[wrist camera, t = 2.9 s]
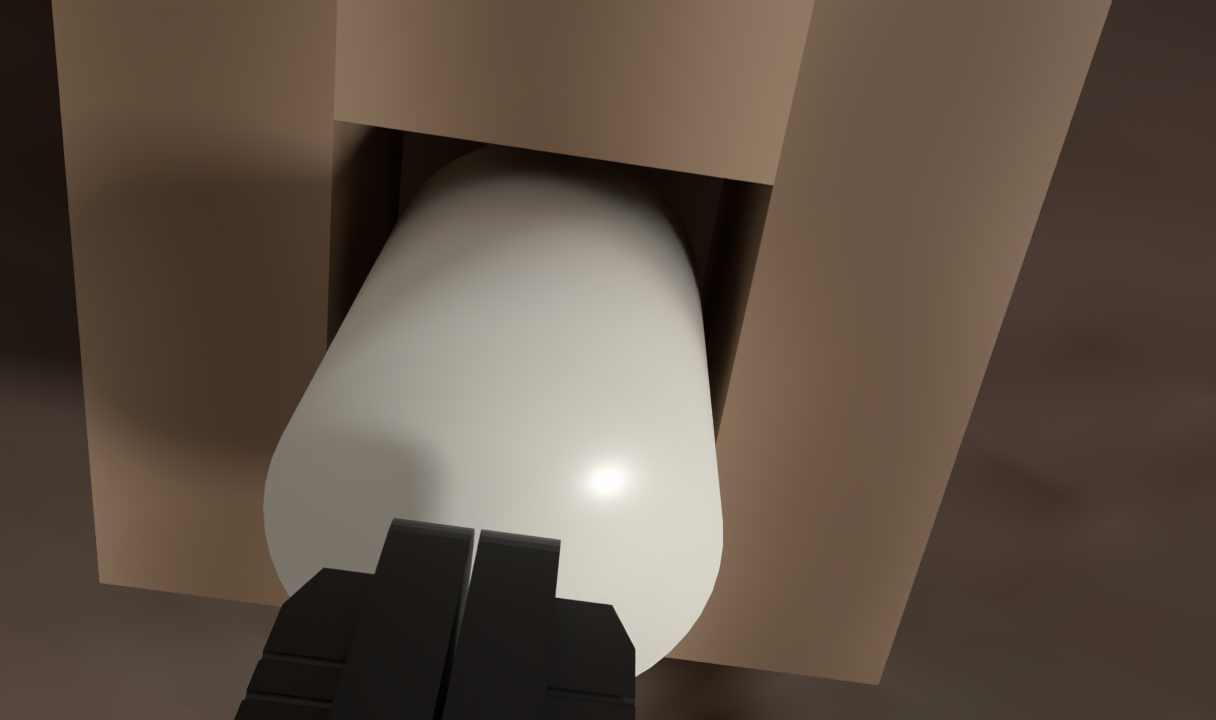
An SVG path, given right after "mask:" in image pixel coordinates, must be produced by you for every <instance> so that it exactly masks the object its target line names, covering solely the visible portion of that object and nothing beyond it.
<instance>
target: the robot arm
mask: <svg viewBox="0 0 1216 720" xmlns="http://www.w3.org/2000/svg"><path fill="white" fill-rule="evenodd" d="M474 537H475V529H474V528H467V527H459V526H452V525H444V524H437V523H429V522H422V521H414V520H407V519H399V518H394V519H393V520H392V522H391V524H390V527H389V530H388V533H387V536H386V539H385V542H384V546H383V549H382V552H381V555H380V558H379V561H378V564H377V567H376V570H375V573H374V574H370V573H362V572H355V571H347V570H339V569H332V568H322V569H321V570H320V571H319V572H318V573H317V574H316V575H315V576H313V577H312V578H311V579H310V580H309V581H308V582H307V583H306V584H304V585H303V586H302V587H301V588H300V589H299V590H298V591H297V592H296V593H294V594H293V595H292V596H291V597H290V598H289V599H288V600H287V601H285V602H284V603H283V605H282V607H281V609H280V612H279V614H278V617H277V619H276V621H275V624H274V626H273V628H272V631H271V633H270V636H269V638H268V640H267V643H266V645H265V647H264V650H263V656H262V660H259V662H258V664H257V666H256V669H255V671H254V674H253V676H252V678H251V681H250V683H249V686H248V688H247V693H246V697H245V700H242V702H241V705H240V707H239V709H238V712H237V714H236V716H235V719H234V720H635V707H634V703H635V663H636V649H635V647H634V645H633V643H632V641H631V639H630V638H629V636H628V634H627V632H626V630H625V628H624V626H623V624H622V622H621V621H620V619H619V617H618V615H617V613H616V611H615V609H614V607H613V605H610V604H602V603H594V602H587V601H579V600H571V599H564V598H556V587H557V577H558V567H559V557H560V546H561V540H559V539H552V538H544V537H537V536H529V535H522V534H514V533H507V532H499V531H492V530H484V529H481V532H480V536H479V541H478V546H477V551H476V556H475V561H474V565H473V570H472V575H471V566H472V557H473V548H474ZM470 575H471V580H470ZM469 583H470V585H469Z"/></svg>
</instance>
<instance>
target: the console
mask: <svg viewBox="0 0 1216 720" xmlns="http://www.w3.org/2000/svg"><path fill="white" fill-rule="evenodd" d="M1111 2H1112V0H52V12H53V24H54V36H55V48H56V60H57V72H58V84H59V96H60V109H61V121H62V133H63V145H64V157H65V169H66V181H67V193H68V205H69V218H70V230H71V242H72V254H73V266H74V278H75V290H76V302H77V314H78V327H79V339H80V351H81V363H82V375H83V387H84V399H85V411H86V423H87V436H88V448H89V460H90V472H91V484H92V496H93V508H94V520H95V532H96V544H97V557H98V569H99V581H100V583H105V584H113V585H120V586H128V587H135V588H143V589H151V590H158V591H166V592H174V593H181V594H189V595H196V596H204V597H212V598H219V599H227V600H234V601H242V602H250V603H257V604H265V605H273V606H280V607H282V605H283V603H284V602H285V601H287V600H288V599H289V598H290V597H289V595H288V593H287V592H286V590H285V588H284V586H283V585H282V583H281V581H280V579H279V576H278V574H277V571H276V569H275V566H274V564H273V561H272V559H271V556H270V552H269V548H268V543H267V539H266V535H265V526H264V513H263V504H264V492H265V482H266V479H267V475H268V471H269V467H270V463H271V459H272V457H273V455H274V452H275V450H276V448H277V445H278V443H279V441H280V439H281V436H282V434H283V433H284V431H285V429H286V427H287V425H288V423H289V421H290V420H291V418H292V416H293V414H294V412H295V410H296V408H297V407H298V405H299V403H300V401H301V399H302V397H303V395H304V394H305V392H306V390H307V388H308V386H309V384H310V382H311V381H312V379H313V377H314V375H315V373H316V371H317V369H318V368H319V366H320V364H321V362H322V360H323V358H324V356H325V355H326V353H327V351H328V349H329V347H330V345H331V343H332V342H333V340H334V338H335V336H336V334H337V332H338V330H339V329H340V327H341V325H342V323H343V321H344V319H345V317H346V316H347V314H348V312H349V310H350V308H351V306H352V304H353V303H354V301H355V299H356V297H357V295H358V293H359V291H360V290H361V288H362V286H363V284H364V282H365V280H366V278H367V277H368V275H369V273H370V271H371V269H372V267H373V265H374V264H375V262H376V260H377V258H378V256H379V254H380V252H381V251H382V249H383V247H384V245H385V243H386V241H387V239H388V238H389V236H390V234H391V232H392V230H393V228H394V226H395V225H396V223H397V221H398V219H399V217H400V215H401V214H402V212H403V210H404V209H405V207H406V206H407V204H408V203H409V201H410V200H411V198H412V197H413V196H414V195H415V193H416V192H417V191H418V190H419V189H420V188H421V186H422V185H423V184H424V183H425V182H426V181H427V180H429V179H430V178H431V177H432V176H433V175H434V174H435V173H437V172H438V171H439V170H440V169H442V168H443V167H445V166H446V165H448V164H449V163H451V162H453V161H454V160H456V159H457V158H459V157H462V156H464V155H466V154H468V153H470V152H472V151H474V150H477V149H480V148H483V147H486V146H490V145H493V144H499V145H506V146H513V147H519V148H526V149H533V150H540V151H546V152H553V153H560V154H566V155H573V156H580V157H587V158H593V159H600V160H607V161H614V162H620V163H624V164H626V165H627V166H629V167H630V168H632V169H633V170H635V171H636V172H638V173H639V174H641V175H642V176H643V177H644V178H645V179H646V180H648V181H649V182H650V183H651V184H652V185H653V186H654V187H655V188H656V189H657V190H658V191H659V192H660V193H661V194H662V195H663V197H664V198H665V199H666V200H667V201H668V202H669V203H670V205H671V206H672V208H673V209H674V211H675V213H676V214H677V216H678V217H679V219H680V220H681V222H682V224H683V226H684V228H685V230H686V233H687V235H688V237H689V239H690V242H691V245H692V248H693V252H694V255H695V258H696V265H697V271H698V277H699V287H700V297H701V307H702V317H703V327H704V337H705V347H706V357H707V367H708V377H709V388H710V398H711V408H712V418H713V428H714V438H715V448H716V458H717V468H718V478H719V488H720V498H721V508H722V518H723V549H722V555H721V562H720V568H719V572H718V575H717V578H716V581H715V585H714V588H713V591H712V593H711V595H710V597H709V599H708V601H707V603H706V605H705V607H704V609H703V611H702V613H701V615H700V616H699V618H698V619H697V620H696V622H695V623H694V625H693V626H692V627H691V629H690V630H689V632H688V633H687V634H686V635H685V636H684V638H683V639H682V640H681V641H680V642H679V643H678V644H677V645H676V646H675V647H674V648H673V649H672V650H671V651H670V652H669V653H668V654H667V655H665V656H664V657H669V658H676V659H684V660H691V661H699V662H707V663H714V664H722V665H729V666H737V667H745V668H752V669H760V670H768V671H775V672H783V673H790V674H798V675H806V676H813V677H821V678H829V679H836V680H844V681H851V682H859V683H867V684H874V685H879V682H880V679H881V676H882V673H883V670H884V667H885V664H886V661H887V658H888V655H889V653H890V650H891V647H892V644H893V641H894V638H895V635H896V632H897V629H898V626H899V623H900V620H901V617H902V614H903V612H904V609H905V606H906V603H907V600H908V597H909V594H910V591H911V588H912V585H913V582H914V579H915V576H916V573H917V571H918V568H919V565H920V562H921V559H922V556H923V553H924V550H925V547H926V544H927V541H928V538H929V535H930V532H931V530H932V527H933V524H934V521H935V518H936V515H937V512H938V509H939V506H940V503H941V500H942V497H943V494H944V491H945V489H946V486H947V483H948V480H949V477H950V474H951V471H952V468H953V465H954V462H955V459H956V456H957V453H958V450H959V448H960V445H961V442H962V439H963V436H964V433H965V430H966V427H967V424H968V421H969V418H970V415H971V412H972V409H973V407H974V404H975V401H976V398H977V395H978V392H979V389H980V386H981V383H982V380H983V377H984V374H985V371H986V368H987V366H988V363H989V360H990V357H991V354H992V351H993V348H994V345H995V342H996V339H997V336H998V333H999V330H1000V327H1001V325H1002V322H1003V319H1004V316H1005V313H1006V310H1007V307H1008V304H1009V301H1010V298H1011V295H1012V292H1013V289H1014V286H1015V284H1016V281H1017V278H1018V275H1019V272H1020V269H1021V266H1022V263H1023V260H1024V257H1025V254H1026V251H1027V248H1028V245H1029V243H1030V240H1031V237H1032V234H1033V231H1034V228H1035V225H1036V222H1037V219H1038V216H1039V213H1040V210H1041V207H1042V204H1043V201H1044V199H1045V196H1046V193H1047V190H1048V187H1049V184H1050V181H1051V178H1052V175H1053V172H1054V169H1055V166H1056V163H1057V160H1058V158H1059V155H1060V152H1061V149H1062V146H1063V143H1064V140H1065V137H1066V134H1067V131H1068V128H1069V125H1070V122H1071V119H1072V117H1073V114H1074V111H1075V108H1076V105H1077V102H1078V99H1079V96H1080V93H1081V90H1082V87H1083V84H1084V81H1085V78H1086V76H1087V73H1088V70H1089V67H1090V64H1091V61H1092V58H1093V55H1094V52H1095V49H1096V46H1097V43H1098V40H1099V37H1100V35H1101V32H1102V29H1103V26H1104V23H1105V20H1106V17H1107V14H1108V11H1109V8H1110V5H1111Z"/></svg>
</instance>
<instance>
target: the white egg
mask: <svg viewBox="0 0 1216 720" xmlns="http://www.w3.org/2000/svg"><path fill="white" fill-rule="evenodd" d="M263 513H264V526H265V535H266V539H267V543H268V548H269V552H270V556H271V559H272V561H273V564H274V566H275V569H276V571H277V574H278V576H279V579H280V581H281V583H282V585H283V586H284V588H285V590H286V592H287V593H288V595H289V597H291V596H292V595H293V594H294V593H296V592H297V591H298V590H299V589H300V588H301V587H302V586H303V585H304V584H306V583H307V582H308V581H309V580H310V579H311V578H312V577H313V576H315V575H316V574H317V573H318V572H319V571H320V570H321V569H322V568H332V569H339V570H347V571H355V572H362V573H370V574H374V573H375V570H376V567H377V564H378V561H379V558H380V555H381V552H382V549H383V546H384V542H385V539H386V536H387V533H388V530H389V527H390V524H391V522H392V520H393V519H394V518H399V519H407V520H414V521H422V522H429V523H437V524H444V525H452V526H459V527H467V528H474V529H475V537H474V548H473V557H472V566H471V575H472V570H473V565H474V561H475V556H476V551H477V546H478V541H479V536H480V532H481V529H484V530H492V531H499V532H507V533H514V534H522V535H529V536H537V537H544V538H552V539H559V540H561V546H560V557H559V567H558V577H557V587H556V598H564V599H571V600H579V601H587V602H594V603H602V604H610V605H613V607H614V609H615V611H616V613H617V615H618V617H619V619H620V621H621V622H622V624H623V626H624V628H625V630H626V632H627V634H628V636H629V638H630V639H631V641H632V643H633V645H634V647H635V649H636V663H635V677H636V676H637V675H639V674H641V673H642V672H644V671H646V670H647V669H649V668H650V667H652V666H653V665H654V664H655V663H657V662H658V661H659V660H660V659H662V658H663V657H664V656H665V655H667V654H668V653H669V652H670V651H671V650H672V649H673V648H674V647H675V646H676V645H677V644H678V643H679V642H680V641H681V640H682V639H683V638H684V636H685V635H686V634H687V633H688V632H689V630H690V629H691V627H692V626H693V625H694V623H695V622H696V620H697V619H698V618H699V616H700V615H701V613H702V611H703V609H704V607H705V605H706V603H707V601H708V599H709V597H710V595H711V593H712V591H713V588H714V585H715V581H716V578H717V575H718V572H719V568H720V562H721V555H722V549H723V518H722V508H721V498H720V488H719V478H718V468H717V458H716V448H715V438H714V428H713V418H712V408H711V398H710V388H709V377H708V367H707V357H706V347H705V337H704V327H703V317H702V307H701V297H700V287H699V277H698V271H697V265H696V258H695V255H694V252H693V248H692V245H691V242H690V239H689V237H688V235H687V233H686V230H685V228H684V226H683V224H682V222H681V220H680V219H679V217H678V216H677V214H676V213H675V211H674V209H673V208H672V206H671V205H670V203H669V202H668V201H667V200H666V199H665V198H664V197H663V195H662V194H661V193H660V192H659V191H658V190H657V189H656V188H655V187H654V186H653V185H652V184H651V183H650V182H649V181H648V180H646V179H645V178H644V177H643V176H642V175H641V174H639V173H638V172H636V171H635V170H633V169H632V168H630V167H629V166H627V165H626V164H624V163H620V162H614V161H607V160H600V159H593V158H587V157H580V156H573V155H566V154H560V153H553V152H546V151H540V150H533V149H526V148H519V147H513V146H506V145H499V144H493V145H490V146H486V147H483V148H480V149H477V150H474V151H472V152H470V153H468V154H466V155H464V156H462V157H459V158H457V159H456V160H454V161H453V162H451V163H449V164H448V165H446V166H445V167H443V168H442V169H440V170H439V171H438V172H437V173H435V174H434V175H433V176H432V177H431V178H430V179H429V180H427V181H426V182H425V183H424V184H423V185H422V186H421V188H420V189H419V190H418V191H417V192H416V193H415V195H414V196H413V197H412V198H411V200H410V201H409V203H408V204H407V206H406V207H405V209H404V210H403V212H402V214H401V215H400V217H399V219H398V221H397V223H396V225H395V226H394V228H393V230H392V232H391V234H390V236H389V238H388V239H387V241H386V243H385V245H384V247H383V249H382V251H381V252H380V254H379V256H378V258H377V260H376V262H375V264H374V265H373V267H372V269H371V271H370V273H369V275H368V277H367V278H366V280H365V282H364V284H363V286H362V288H361V290H360V291H359V293H358V295H357V297H356V299H355V301H354V303H353V304H352V306H351V308H350V310H349V312H348V314H347V316H346V317H345V319H344V321H343V323H342V325H341V327H340V329H339V330H338V332H337V334H336V336H335V338H334V340H333V342H332V343H331V345H330V347H329V349H328V351H327V353H326V355H325V356H324V358H323V360H322V362H321V364H320V366H319V368H318V369H317V371H316V373H315V375H314V377H313V379H312V381H311V382H310V384H309V386H308V388H307V390H306V392H305V394H304V395H303V397H302V399H301V401H300V403H299V405H298V407H297V408H296V410H295V412H294V414H293V416H292V418H291V420H290V421H289V423H288V425H287V427H286V429H285V431H284V433H283V434H282V436H281V439H280V441H279V443H278V445H277V448H276V450H275V452H274V455H273V457H272V459H271V463H270V467H269V471H268V475H267V479H266V482H265V492H264V504H263ZM471 575H470V580H471ZM469 585H470V583H469Z"/></svg>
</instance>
